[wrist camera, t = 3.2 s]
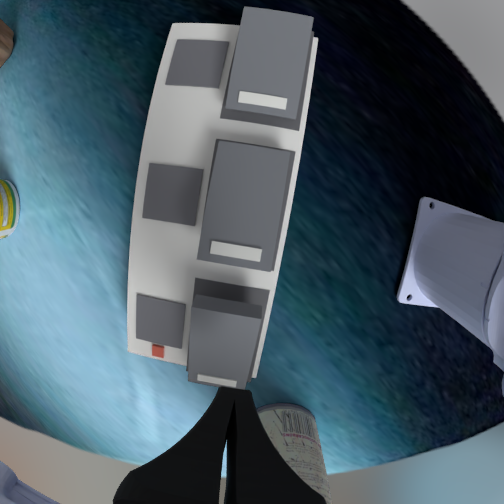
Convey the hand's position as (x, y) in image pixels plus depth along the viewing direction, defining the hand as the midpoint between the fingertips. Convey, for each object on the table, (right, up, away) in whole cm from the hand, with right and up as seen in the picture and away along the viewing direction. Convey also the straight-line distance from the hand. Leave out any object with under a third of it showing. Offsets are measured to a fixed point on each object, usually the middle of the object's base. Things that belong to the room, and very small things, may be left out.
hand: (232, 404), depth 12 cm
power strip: (-1, +10, +7) cm, 13 cm away
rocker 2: (0, +9, +3) cm, 10 cm away
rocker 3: (-1, +1, +5) cm, 5 cm away
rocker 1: (+2, +17, +2) cm, 17 cm away
